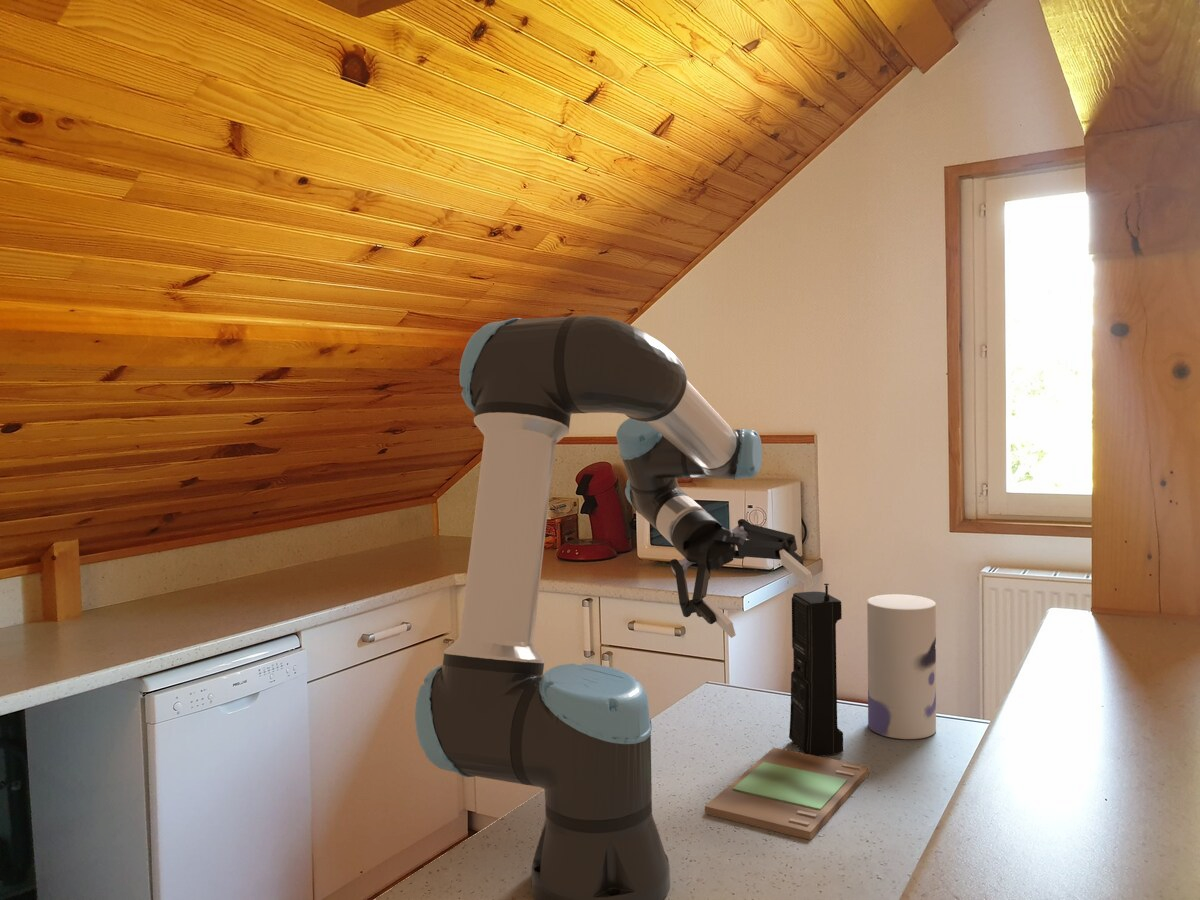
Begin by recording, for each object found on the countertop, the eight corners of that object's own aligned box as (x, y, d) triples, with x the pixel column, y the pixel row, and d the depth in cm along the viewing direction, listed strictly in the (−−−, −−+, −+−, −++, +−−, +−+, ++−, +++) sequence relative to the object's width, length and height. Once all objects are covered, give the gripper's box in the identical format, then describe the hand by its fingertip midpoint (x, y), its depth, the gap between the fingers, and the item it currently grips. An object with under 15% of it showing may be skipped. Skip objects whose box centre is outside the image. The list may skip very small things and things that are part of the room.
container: (940, 741, 144) (940, 609, 142) (870, 738, 146) (869, 607, 144) (931, 718, 154) (931, 593, 152) (865, 715, 156) (865, 592, 154)
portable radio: (785, 738, 147) (781, 575, 145) (822, 734, 148) (819, 573, 146) (805, 758, 139) (801, 587, 137) (844, 754, 140) (842, 584, 138)
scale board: (810, 840, 115) (810, 830, 115) (704, 813, 123) (704, 804, 123) (869, 773, 133) (869, 765, 133) (774, 754, 141) (773, 746, 141)
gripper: (759, 508, 157) (845, 578, 141) (629, 586, 151) (703, 669, 135) (751, 473, 153) (839, 541, 136) (617, 552, 147) (692, 633, 130)
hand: (771, 605), depth 135 cm, fingers open, 13 cm apart
